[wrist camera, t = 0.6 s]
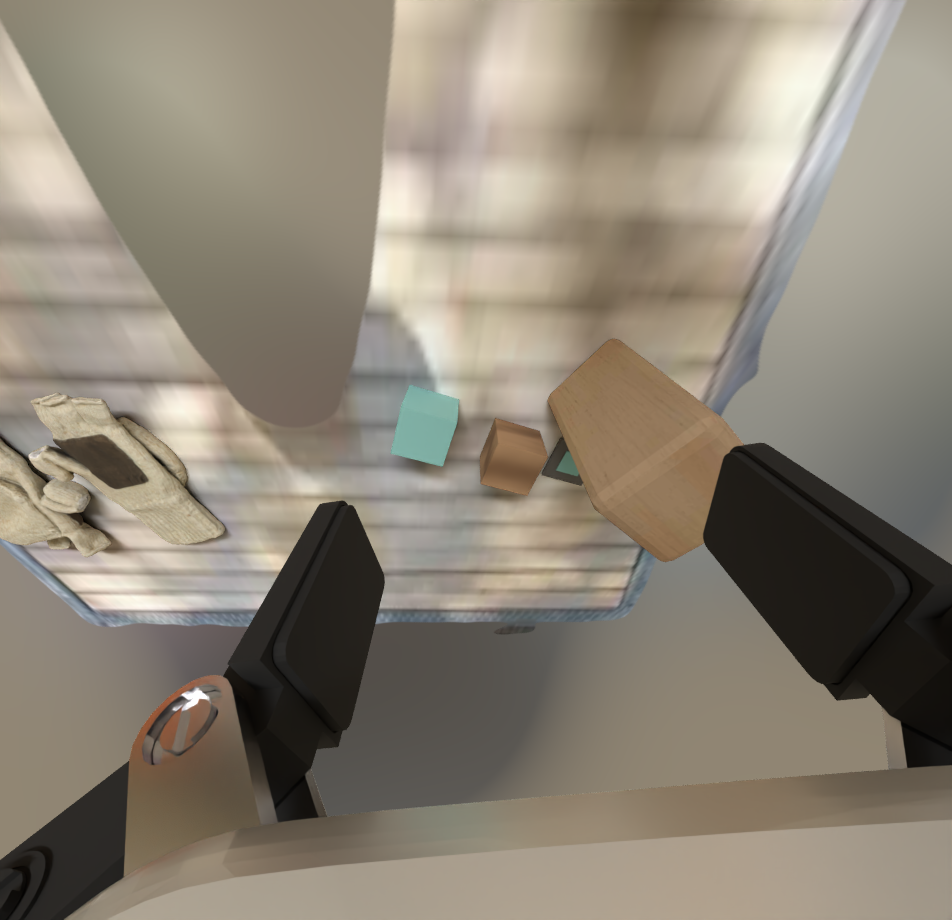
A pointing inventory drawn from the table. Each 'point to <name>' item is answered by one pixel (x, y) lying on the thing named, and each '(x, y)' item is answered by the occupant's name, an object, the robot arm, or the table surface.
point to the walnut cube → (512, 457)
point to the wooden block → (642, 448)
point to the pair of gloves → (96, 480)
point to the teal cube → (425, 426)
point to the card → (562, 465)
